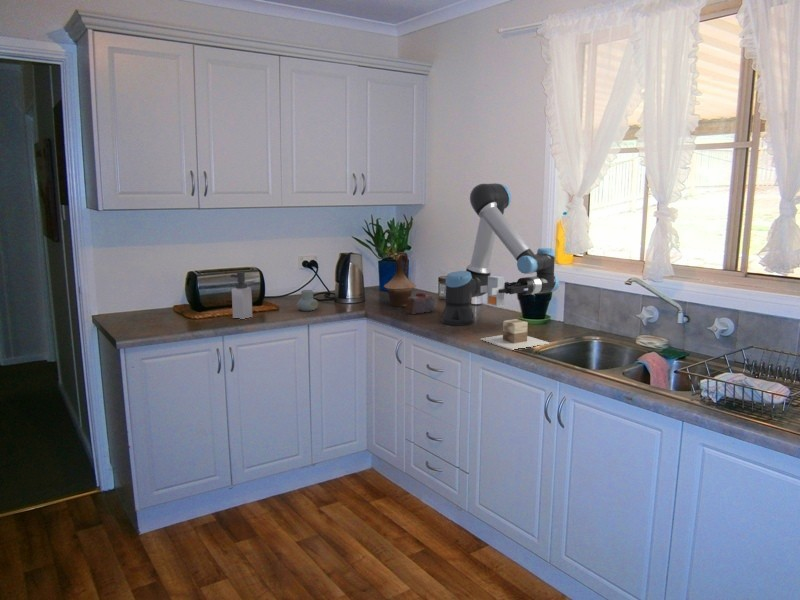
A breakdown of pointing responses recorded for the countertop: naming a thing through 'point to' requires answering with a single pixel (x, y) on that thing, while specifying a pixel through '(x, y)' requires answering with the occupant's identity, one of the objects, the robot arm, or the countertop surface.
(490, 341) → the plate
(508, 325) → the upper block
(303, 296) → the air freshener
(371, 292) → the countertop surface
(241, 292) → the soap dispenser
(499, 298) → the skincare box
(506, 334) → the lower block
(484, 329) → the countertop surface
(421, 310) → the food item
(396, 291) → the brown vase
